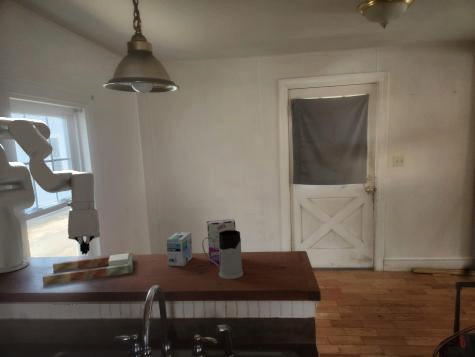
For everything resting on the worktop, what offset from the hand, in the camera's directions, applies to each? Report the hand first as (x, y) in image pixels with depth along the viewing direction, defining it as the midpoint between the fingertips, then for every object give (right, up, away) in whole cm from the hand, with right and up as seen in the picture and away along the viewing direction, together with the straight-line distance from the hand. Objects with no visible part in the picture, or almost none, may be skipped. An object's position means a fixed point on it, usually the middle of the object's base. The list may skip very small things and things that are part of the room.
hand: (85, 253), depth 115 cm
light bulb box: (+35, -6, +9) cm, 36 cm away
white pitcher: (+53, -6, -6) cm, 53 cm away
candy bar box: (+52, -5, +7) cm, 52 cm away
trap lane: (+3, -7, +1) cm, 8 cm away
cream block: (+11, -7, +5) cm, 14 cm away
